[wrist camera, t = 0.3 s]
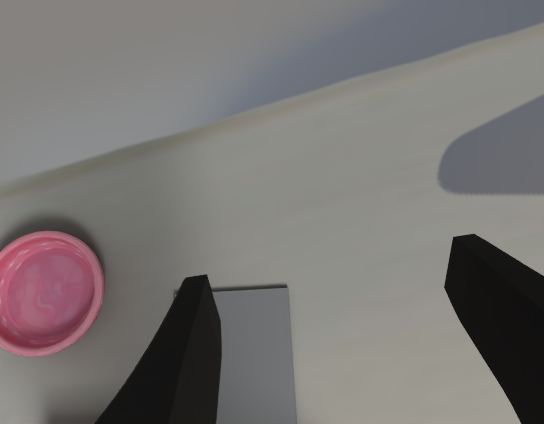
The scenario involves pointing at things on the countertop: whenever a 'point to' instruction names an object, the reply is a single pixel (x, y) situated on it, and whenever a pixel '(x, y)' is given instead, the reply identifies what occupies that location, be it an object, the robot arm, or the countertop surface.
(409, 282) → the countertop surface
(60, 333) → the saucer
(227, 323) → the mat
